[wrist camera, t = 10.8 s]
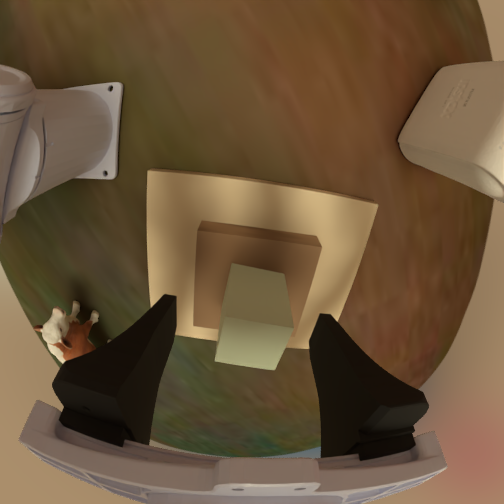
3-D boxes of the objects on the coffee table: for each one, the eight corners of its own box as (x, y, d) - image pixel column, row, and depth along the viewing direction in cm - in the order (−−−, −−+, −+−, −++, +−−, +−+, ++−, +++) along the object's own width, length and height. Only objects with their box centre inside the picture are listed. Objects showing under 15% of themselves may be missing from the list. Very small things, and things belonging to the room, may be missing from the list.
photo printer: (438, 59, 15) (545, 52, 4) (467, 93, 16) (570, 107, 5) (387, 142, 19) (499, 180, 8) (419, 173, 20) (524, 231, 9)
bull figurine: (92, 274, 25) (52, 326, 17) (126, 363, 31) (106, 414, 23) (61, 273, 25) (20, 320, 17) (98, 359, 31) (76, 406, 23)
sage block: (222, 304, 22) (214, 361, 17) (231, 263, 20) (225, 316, 15) (270, 313, 23) (274, 370, 17) (284, 273, 21) (294, 328, 15)
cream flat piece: (155, 324, 27) (148, 344, 25) (152, 168, 20) (137, 176, 17) (323, 342, 28) (328, 363, 26) (373, 200, 21) (388, 213, 19)
